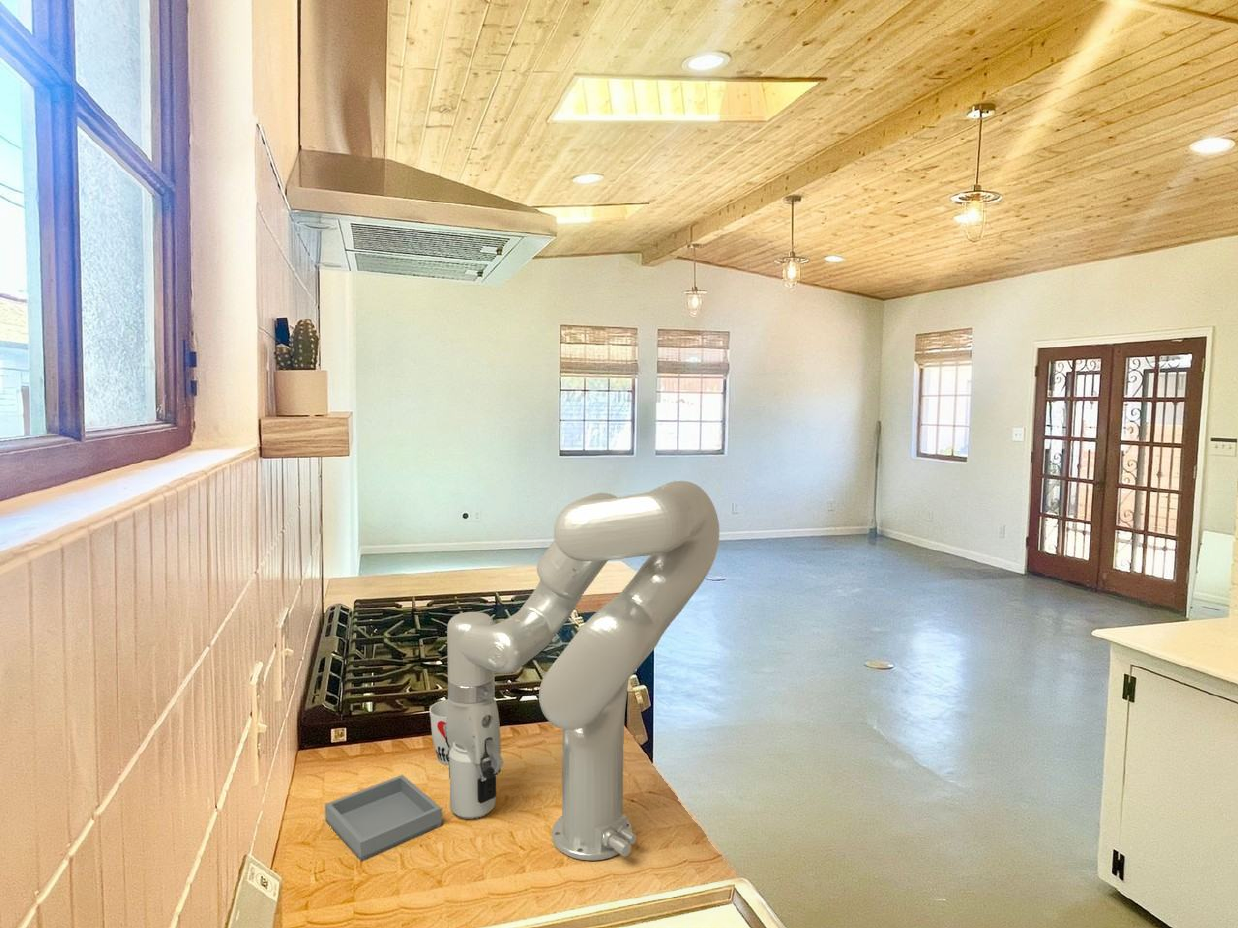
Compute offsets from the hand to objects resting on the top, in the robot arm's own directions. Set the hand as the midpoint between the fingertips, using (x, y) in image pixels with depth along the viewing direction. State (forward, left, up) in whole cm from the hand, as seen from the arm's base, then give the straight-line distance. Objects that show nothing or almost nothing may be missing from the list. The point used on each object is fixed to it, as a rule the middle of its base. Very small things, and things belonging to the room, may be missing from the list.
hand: (472, 787), depth 125 cm
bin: (+6, +13, -4) cm, 15 cm away
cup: (+17, -6, -4) cm, 18 cm away
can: (0, 0, -4) cm, 4 cm away
